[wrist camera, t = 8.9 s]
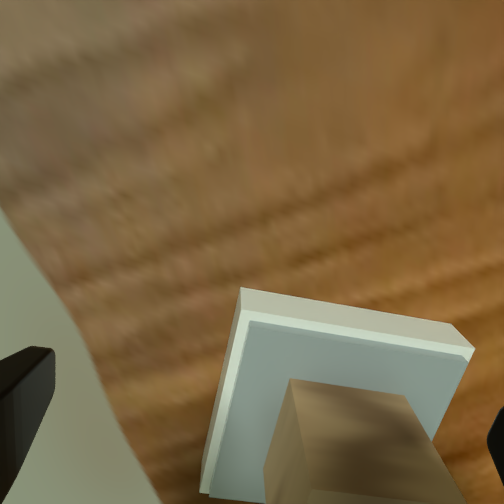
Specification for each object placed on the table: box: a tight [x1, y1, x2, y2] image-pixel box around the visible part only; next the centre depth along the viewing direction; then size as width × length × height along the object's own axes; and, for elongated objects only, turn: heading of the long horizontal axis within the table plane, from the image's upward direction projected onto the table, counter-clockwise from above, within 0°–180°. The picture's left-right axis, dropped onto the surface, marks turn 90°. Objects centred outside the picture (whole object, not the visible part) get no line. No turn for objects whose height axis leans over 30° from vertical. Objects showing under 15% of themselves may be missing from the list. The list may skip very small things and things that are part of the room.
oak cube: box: [263, 378, 467, 504], centre depth 18 cm, size 6×6×6 cm
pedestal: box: [199, 287, 475, 504], centre depth 22 cm, size 12×12×3 cm
